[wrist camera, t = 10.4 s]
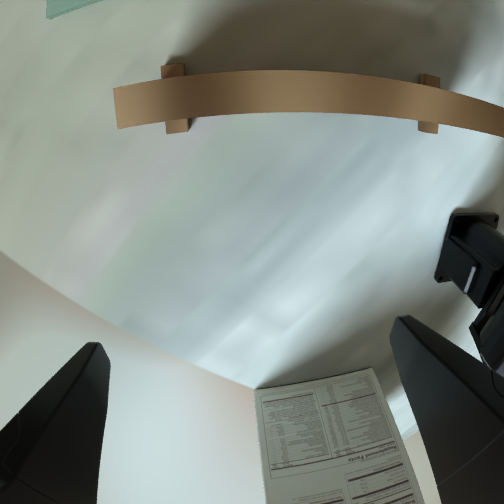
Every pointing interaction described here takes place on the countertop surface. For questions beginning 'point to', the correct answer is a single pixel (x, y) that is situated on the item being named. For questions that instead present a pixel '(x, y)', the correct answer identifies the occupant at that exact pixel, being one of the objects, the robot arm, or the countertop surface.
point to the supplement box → (332, 444)
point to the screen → (298, 98)
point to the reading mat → (64, 6)
